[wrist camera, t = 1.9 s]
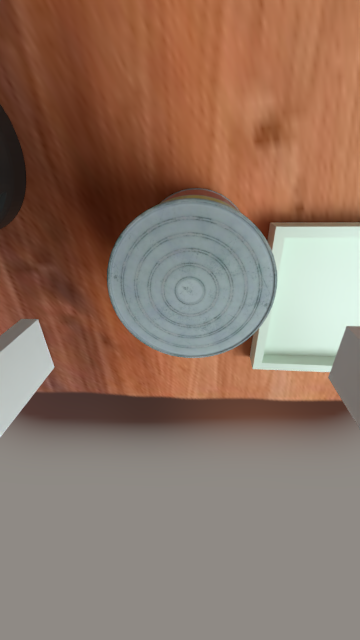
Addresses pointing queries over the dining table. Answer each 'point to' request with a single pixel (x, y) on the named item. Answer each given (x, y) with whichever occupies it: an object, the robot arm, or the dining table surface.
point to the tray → (310, 295)
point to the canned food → (192, 275)
